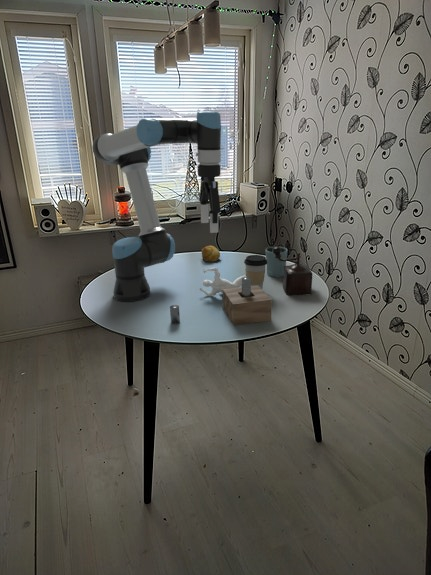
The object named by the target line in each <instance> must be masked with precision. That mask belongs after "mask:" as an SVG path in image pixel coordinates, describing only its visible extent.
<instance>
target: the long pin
mask: <svg viewBox="0 0 431 575" xmlns="http://www.w3.org/2000/svg"><path fill="white" fill-rule="evenodd" d="M244 297H251V278H249V277H243V278H242V298H244Z"/></svg>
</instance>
